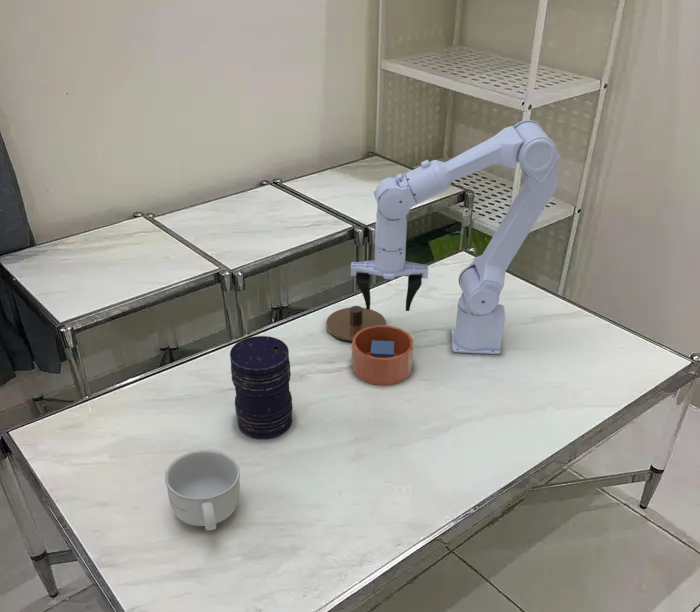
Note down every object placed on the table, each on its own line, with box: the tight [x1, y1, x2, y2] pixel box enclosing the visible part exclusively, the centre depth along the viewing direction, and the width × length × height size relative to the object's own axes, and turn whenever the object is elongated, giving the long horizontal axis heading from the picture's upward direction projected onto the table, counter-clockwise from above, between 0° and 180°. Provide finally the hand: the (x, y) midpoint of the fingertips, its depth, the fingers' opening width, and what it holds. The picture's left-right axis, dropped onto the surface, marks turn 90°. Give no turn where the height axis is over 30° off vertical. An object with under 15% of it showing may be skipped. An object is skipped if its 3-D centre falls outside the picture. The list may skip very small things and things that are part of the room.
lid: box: [325, 305, 387, 342], centre depth 151 cm, size 13×13×4 cm
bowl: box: [351, 325, 414, 386], centre depth 139 cm, size 12×12×6 cm
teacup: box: [164, 449, 241, 531], centre depth 107 cm, size 14×11×8 cm
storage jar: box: [229, 335, 293, 441], centre depth 123 cm, size 10×10×15 cm
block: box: [371, 340, 394, 358], centre depth 139 cm, size 4×4×4 cm
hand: (387, 307), depth 142 cm, fingers open, 7 cm apart
